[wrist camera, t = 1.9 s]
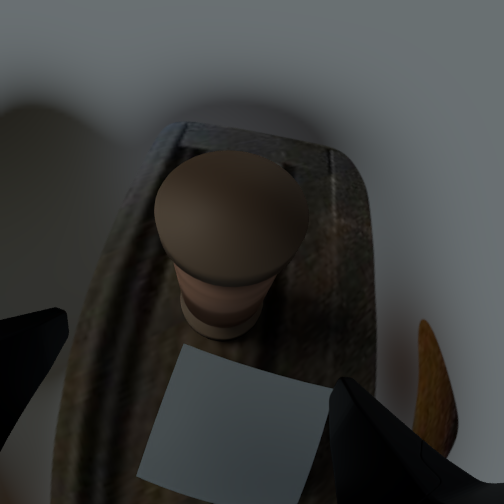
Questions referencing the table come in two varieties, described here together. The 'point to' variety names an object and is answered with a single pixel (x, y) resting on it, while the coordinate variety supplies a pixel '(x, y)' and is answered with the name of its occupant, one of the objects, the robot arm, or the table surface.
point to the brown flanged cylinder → (229, 236)
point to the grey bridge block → (234, 432)
